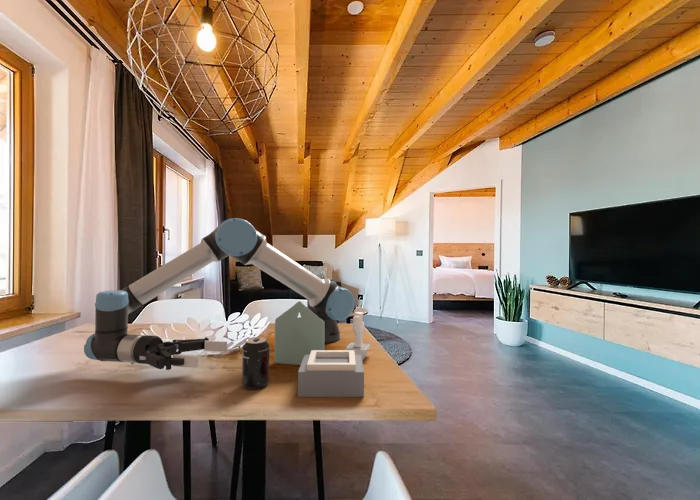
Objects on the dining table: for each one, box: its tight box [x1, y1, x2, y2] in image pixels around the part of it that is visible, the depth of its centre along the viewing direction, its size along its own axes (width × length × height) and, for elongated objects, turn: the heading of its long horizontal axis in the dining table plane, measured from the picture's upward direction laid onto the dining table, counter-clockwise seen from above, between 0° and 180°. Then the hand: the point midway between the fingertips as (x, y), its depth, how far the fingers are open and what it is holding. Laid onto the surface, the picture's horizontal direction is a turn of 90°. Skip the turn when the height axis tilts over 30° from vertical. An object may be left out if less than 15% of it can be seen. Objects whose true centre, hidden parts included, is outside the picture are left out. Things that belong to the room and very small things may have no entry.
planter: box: [274, 301, 326, 366], centre depth 109 cm, size 16×8×20 cm, turn 78°
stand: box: [297, 349, 365, 398], centre depth 89 cm, size 14×16×8 cm
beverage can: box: [241, 336, 270, 390], centre depth 89 cm, size 7×7×12 cm
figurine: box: [345, 311, 371, 361], centre depth 113 cm, size 7×9×15 cm
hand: (213, 353), depth 90 cm, fingers open, 13 cm apart
